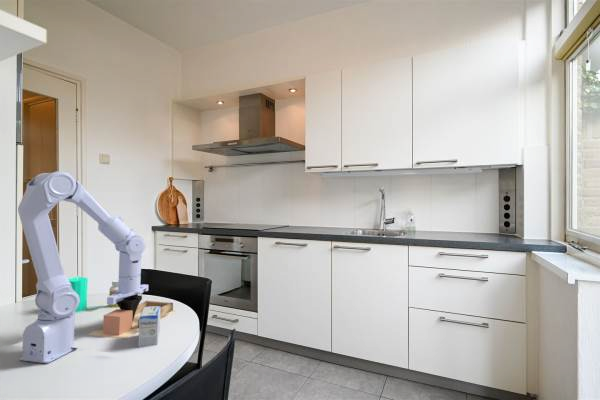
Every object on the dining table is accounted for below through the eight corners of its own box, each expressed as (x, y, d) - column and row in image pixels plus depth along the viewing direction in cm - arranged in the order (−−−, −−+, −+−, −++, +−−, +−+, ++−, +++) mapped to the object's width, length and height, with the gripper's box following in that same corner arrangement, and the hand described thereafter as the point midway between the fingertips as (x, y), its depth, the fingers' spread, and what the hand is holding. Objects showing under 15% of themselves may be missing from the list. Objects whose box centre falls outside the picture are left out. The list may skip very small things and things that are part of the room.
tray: (125, 342, 82) (126, 329, 82) (86, 338, 84) (87, 325, 84) (175, 313, 104) (175, 303, 104) (143, 310, 106) (144, 300, 106)
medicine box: (141, 338, 84) (142, 306, 85) (159, 336, 86) (160, 305, 86) (137, 351, 77) (139, 316, 77) (157, 349, 79) (158, 314, 79)
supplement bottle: (107, 307, 110) (108, 279, 110) (124, 304, 113) (125, 277, 113) (110, 311, 105) (111, 282, 106) (127, 308, 109) (128, 280, 109)
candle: (67, 308, 108) (69, 273, 108) (88, 306, 110) (89, 272, 111) (63, 313, 102) (64, 277, 103) (84, 311, 105) (86, 275, 105)
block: (119, 335, 84) (119, 316, 84) (103, 333, 85) (103, 315, 85) (132, 328, 89) (132, 310, 89) (116, 326, 90) (117, 309, 90)
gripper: (123, 282, 83) (122, 332, 83) (157, 271, 98) (156, 314, 97) (100, 280, 84) (99, 330, 84) (137, 269, 99) (136, 312, 98)
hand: (128, 321), depth 91 cm, fingers closed
